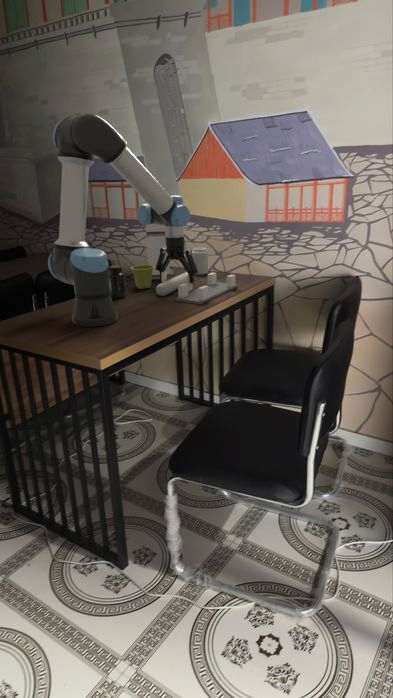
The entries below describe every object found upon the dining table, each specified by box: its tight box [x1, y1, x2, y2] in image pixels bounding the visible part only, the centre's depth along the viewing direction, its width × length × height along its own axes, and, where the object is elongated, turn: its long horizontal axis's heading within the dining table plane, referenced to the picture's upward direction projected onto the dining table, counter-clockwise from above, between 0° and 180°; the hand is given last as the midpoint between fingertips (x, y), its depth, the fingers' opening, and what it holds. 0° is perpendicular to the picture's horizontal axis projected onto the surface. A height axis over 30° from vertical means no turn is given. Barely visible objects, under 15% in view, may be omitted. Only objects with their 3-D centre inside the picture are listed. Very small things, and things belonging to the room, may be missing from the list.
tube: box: [155, 271, 189, 297], centre depth 205 cm, size 5×5×25 cm
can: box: [191, 247, 209, 276], centre depth 230 cm, size 8×8×12 cm
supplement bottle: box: [108, 264, 127, 299], centre depth 195 cm, size 7×7×12 cm
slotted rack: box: [175, 272, 239, 305], centre depth 197 cm, size 11×30×6 cm, turn 148°
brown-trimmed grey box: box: [144, 200, 174, 280], centre depth 223 cm, size 11×11×35 cm
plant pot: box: [130, 264, 154, 290], centre depth 209 cm, size 9×9×9 cm
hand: (177, 289), depth 205 cm, fingers open, 12 cm apart
